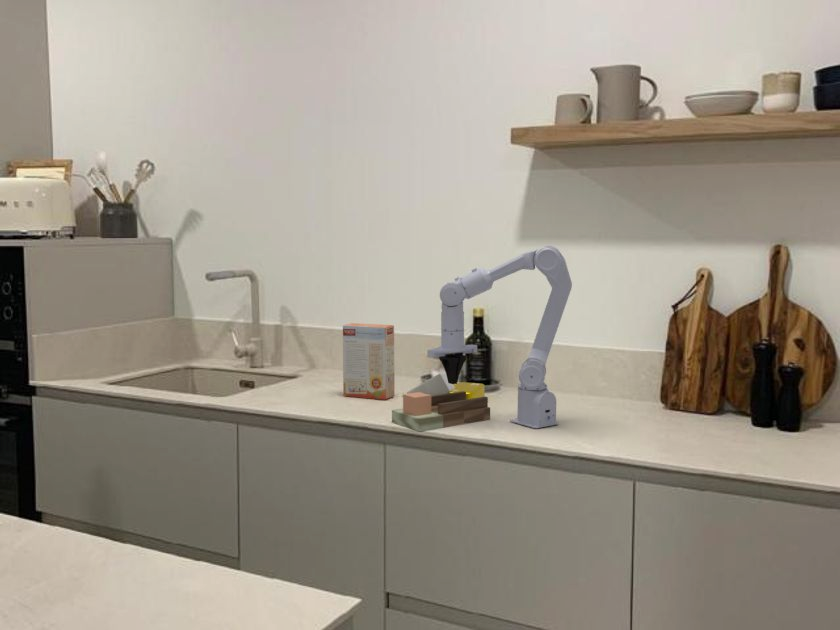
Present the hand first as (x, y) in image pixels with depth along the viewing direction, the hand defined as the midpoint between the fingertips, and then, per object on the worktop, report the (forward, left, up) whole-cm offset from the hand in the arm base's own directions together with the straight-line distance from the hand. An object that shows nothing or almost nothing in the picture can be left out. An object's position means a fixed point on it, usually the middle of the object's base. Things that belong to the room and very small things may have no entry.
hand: (452, 383), depth 211 cm
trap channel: (+1, +4, -9) cm, 10 cm away
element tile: (+19, -15, -10) cm, 26 cm away
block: (+1, +11, -6) cm, 12 cm away
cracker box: (+37, +2, -10) cm, 38 cm away
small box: (+15, +1, -7) cm, 17 cm away
